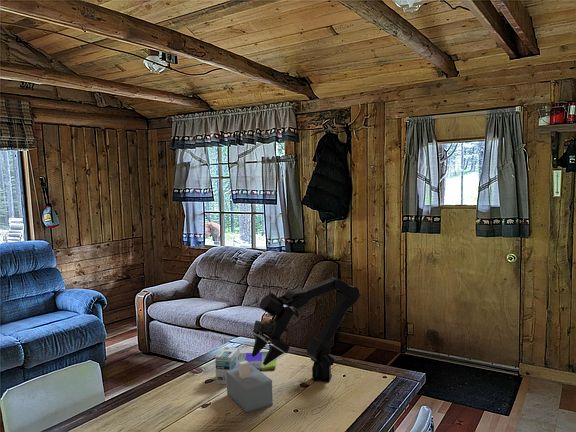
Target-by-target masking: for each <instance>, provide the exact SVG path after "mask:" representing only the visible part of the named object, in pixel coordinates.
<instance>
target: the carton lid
mask: <svg viewBox="0 0 576 432" xmlns="http://www.w3.org/2000/svg"><path fill="white" fill-rule="evenodd" d="M226 373H227V374H228V375H229V376H230V377H231V378H232V379H234V380H235V381H236V382H237V383H238V384H239V385H240V386H242V387H243V388H244V389H245V390H248V389H251V388H255V387H258V386H262V385H266V384H269V383H272V384H273V379H271V378H270V377H269V376H267V375H266V374H264V373H263V372H262V371H259V370H258V369H256V368H255V367H253V366H252V365H250V363H249V362H248V361H243V362H239V368H236V369H232V370H228V371H226Z"/></svg>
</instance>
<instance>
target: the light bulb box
mask: <svg viewBox="0 0 576 432" xmlns="http://www.w3.org/2000/svg"><path fill="white" fill-rule="evenodd" d="M240 353H241V352H240V347H227V346H223V348H222V349H221V350H220V351H219V352H218V353H217V354H216V355H215V356H214V357H215V359H214V360H215V378H216V380H215V382H216V384H217V385H218V384H219V385H220V384H221V385H227V376H226V374H227V373H226V371H228V370H232V369H236V368H239V362H240Z"/></svg>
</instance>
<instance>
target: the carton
mask: <svg viewBox="0 0 576 432" xmlns="http://www.w3.org/2000/svg"><path fill="white" fill-rule="evenodd" d="M226 376H227V384H226V396H227V397H228V398H229V399H231V400H232V401H233V402H234V403H235V404H236V405H237V407H239V408H240V409H241V410H242V411H243V412H244V413H245V414H249V413H253V412H255V411H256V412H257V411H258V410H262V409H265V408H268V407H272V406H273V402H274V401H273V399H274V398H273V382H272V383H269V384H266V385H262V386H258V387H255V388H251V389H248V390H245V389H244V388H243V387H242V386H240V385H239V384H238V383H237V382H236V381H235V380H234V379H232V378H231V377H230V376H229V375H228V374H226Z"/></svg>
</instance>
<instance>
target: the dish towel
mask: <svg viewBox="0 0 576 432" xmlns="http://www.w3.org/2000/svg"><path fill="white" fill-rule="evenodd" d="M268 351H269V350H268ZM268 351H260V352H259V353H258V354H257V355H256V356H255V357H253V356H252V352H239V353H240V362H243V361H248V362H249V363H250V365H252V366H253V367H255V368H256V369H258V370H259V371H260V372H262V371H268V370H270V371H271V370H275V369H276V367H277V362H278V360H277V359H278V357H277V358H275V359H274V360H272V361H271V362H270V363H268V364H267V365H264V364H263V362H264V360H265V358H266V355H267V353H268Z"/></svg>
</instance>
